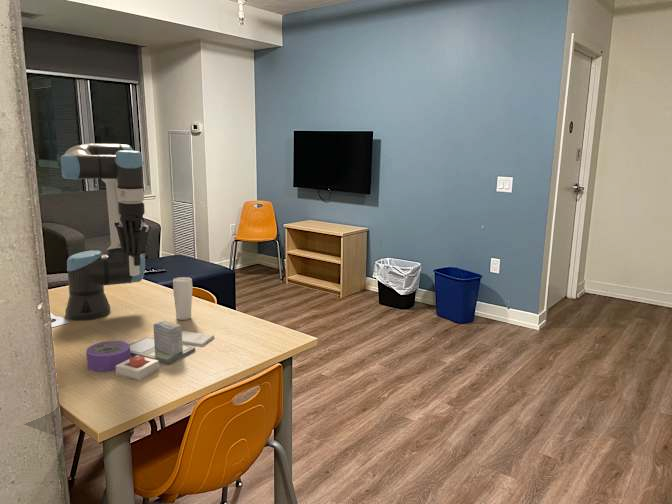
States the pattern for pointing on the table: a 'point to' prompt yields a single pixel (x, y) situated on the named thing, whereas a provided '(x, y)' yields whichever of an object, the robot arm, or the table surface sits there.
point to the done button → (137, 361)
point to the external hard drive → (195, 338)
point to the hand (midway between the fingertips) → (134, 274)
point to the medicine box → (168, 337)
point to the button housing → (137, 369)
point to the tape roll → (107, 355)
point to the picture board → (147, 350)
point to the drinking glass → (183, 297)
